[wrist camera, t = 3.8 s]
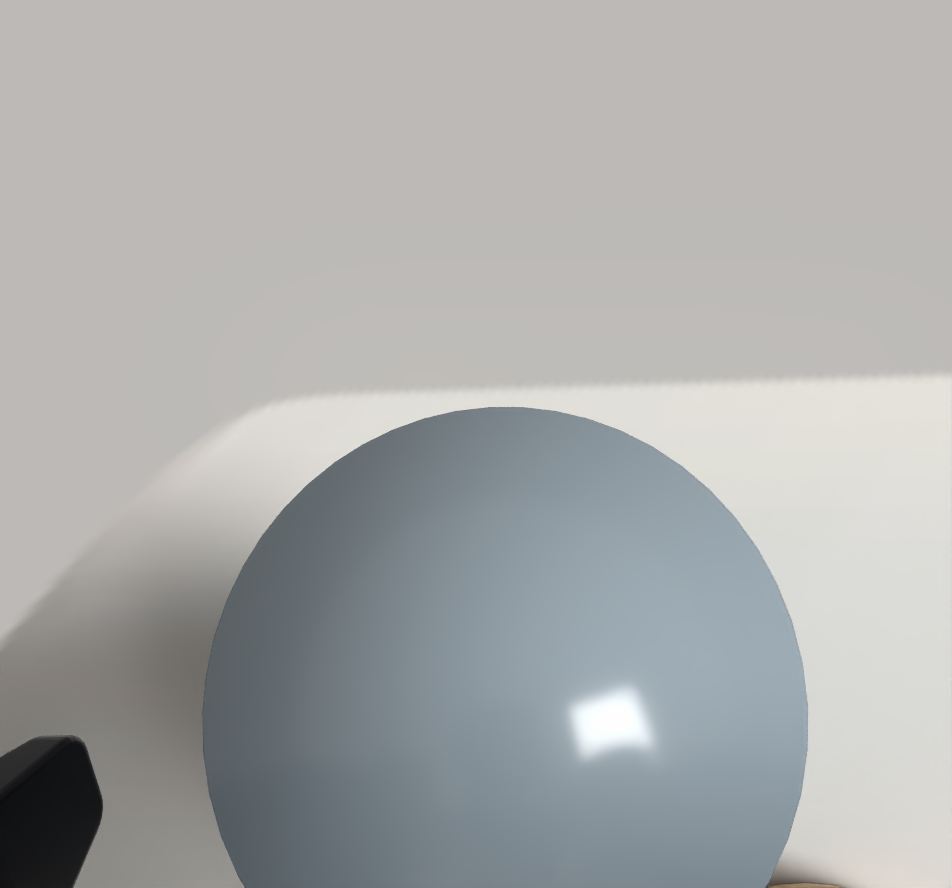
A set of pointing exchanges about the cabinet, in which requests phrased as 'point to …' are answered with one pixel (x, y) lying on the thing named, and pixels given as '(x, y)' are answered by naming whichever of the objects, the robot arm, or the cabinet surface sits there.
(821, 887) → the tan round disc
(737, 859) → the grey rounded cylinder
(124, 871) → the cabinet surface
